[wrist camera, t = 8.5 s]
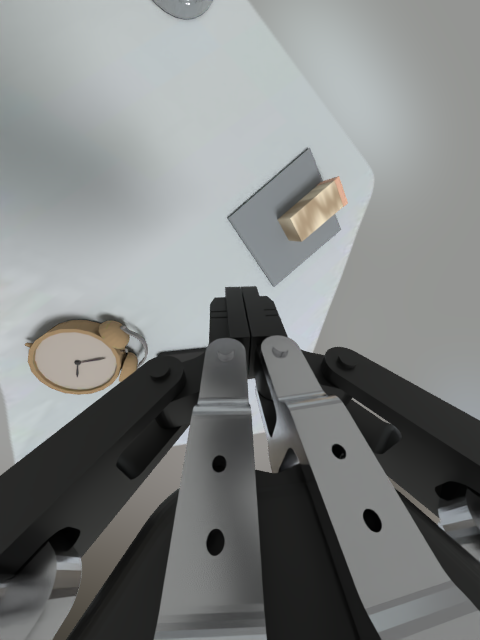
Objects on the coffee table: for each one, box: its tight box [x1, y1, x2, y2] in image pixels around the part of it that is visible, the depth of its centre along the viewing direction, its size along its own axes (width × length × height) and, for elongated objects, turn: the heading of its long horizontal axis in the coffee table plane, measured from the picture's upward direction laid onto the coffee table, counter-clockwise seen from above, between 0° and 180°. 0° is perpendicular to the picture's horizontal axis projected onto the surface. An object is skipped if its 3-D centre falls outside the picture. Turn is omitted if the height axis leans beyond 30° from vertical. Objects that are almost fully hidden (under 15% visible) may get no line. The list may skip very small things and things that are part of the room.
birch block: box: [278, 176, 348, 242], centre depth 32 cm, size 4×4×9 cm
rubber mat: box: [228, 148, 341, 287], centre depth 34 cm, size 14×16×1 cm
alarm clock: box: [25, 320, 148, 395], centre depth 31 cm, size 11×5×15 cm
